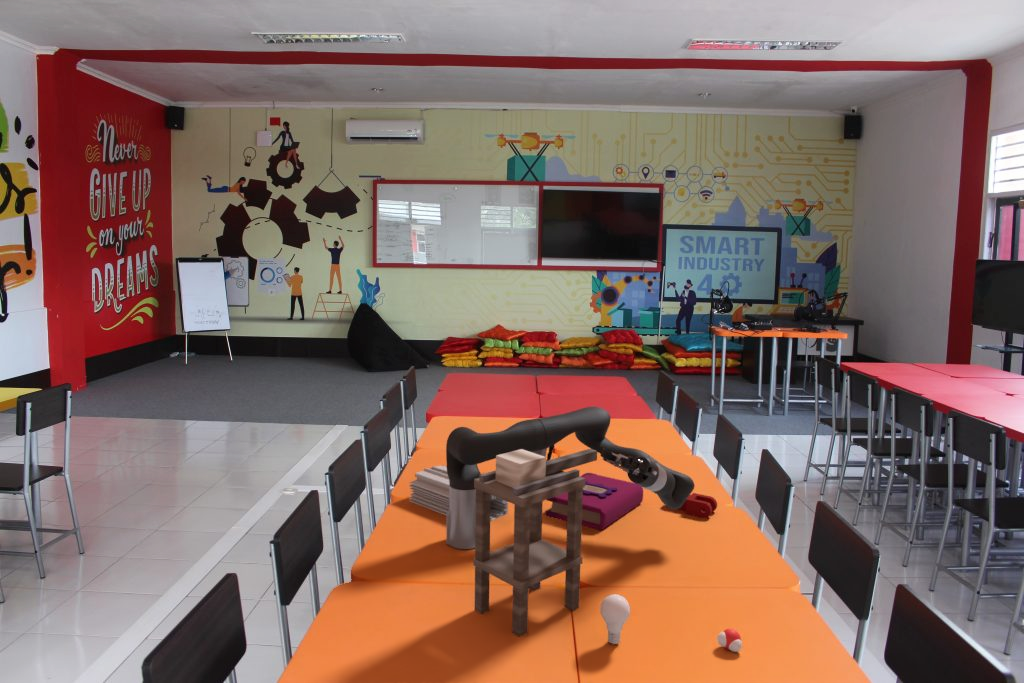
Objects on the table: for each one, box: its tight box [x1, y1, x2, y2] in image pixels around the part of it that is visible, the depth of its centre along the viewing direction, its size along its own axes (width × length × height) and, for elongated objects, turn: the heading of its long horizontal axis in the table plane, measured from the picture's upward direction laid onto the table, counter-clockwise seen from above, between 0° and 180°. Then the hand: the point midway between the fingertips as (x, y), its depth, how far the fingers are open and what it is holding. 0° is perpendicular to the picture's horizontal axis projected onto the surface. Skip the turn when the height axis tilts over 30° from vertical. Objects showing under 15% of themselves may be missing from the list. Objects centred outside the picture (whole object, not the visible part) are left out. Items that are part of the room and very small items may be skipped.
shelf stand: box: [472, 468, 585, 638], centre depth 175 cm, size 20×16×34 cm
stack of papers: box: [408, 464, 509, 522], centre depth 240 cm, size 14×31×10 cm, turn 48°
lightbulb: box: [600, 593, 631, 645], centre depth 162 cm, size 6×6×11 cm
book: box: [545, 472, 644, 531], centre depth 240 cm, size 21×28×8 cm
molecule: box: [716, 628, 743, 653], centre depth 162 cm, size 5×5×4 cm
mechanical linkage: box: [677, 492, 718, 519], centre depth 241 cm, size 16×7×5 cm, turn 59°
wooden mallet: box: [495, 448, 598, 488], centre depth 177 cm, size 29×8×6 cm, turn 133°
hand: (615, 456), depth 193 cm, fingers open, 8 cm apart
